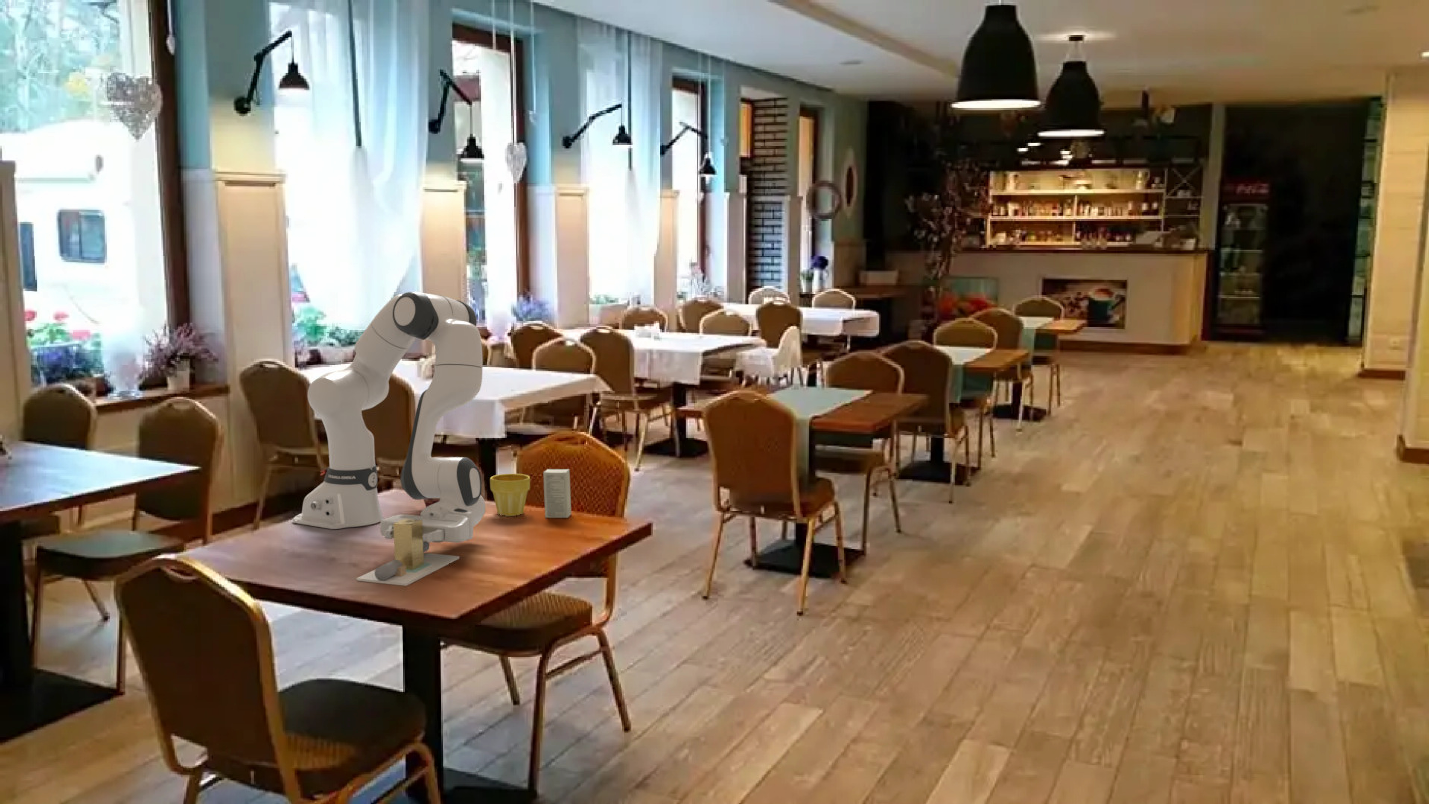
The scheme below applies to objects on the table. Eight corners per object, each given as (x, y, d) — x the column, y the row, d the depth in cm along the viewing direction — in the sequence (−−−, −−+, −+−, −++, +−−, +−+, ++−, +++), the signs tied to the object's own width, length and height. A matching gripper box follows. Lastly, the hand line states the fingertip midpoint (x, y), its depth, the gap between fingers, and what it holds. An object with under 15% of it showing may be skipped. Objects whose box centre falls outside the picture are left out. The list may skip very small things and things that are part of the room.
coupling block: (395, 568, 257) (393, 523, 255) (406, 562, 261) (404, 518, 259) (412, 569, 255) (411, 525, 254) (423, 564, 260) (422, 520, 258)
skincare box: (571, 514, 309) (570, 469, 307) (567, 518, 305) (567, 472, 303) (547, 513, 310) (547, 468, 308) (543, 517, 305) (543, 471, 304)
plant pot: (530, 508, 316) (529, 472, 315) (531, 517, 306) (530, 480, 305) (491, 509, 314) (490, 473, 313) (490, 518, 304) (489, 481, 303)
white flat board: (415, 552, 271) (415, 537, 271) (461, 557, 268) (461, 542, 267) (356, 580, 250) (355, 564, 249) (406, 585, 246) (405, 569, 246)
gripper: (399, 505, 272) (364, 519, 259) (478, 512, 266) (447, 526, 253) (399, 532, 273) (365, 547, 260) (479, 539, 267) (447, 554, 254)
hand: (406, 536), depth 256 cm, fingers open, 8 cm apart
